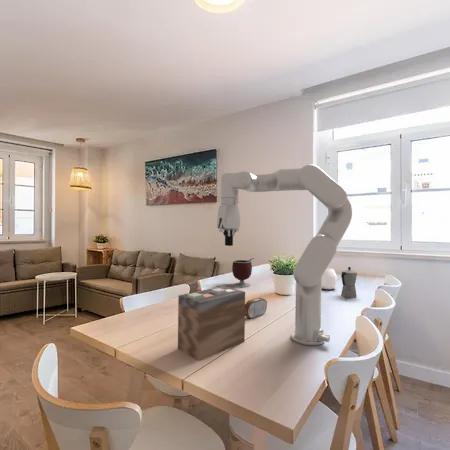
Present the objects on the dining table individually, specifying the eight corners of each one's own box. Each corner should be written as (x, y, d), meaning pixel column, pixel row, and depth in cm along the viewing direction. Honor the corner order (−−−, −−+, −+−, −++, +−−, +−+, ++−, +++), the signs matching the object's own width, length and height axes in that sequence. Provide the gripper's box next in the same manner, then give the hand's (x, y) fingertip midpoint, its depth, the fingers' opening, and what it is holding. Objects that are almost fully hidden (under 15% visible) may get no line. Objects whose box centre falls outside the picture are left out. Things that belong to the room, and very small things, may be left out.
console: (244, 341, 110) (245, 291, 110) (199, 360, 95) (200, 302, 95) (222, 332, 119) (223, 286, 119) (177, 348, 104) (178, 295, 103)
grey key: (225, 296, 109) (225, 289, 109) (218, 297, 106) (218, 291, 106) (218, 294, 111) (218, 287, 111) (211, 295, 109) (211, 289, 109)
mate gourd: (229, 286, 202) (230, 257, 202) (234, 282, 215) (235, 255, 215) (251, 288, 198) (252, 259, 197) (255, 284, 211) (256, 256, 211)
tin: (262, 312, 146) (263, 295, 146) (267, 313, 144) (268, 296, 144) (242, 319, 136) (243, 301, 136) (247, 320, 134) (248, 302, 134)
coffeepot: (346, 292, 189) (347, 265, 189) (361, 295, 182) (362, 267, 181) (334, 296, 179) (334, 267, 179) (349, 299, 172) (349, 269, 172)
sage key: (202, 301, 101) (202, 294, 101) (194, 303, 98) (194, 296, 98) (195, 299, 104) (196, 292, 104) (187, 301, 101) (187, 294, 101)
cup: (319, 285, 210) (320, 266, 210) (339, 288, 202) (339, 268, 202) (313, 288, 199) (314, 269, 199) (333, 291, 192) (334, 271, 192)
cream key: (235, 296, 113) (235, 290, 113) (228, 298, 110) (228, 292, 110) (228, 294, 115) (228, 288, 115) (221, 296, 113) (221, 290, 113)
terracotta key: (214, 302, 105) (214, 295, 105) (206, 304, 102) (206, 297, 102) (207, 299, 108) (207, 293, 108) (199, 301, 105) (199, 295, 105)
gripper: (235, 203, 132) (234, 244, 133) (210, 202, 122) (209, 245, 122) (247, 203, 127) (247, 245, 127) (222, 201, 117) (222, 247, 117)
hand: (228, 245), depth 125 cm, fingers closed
